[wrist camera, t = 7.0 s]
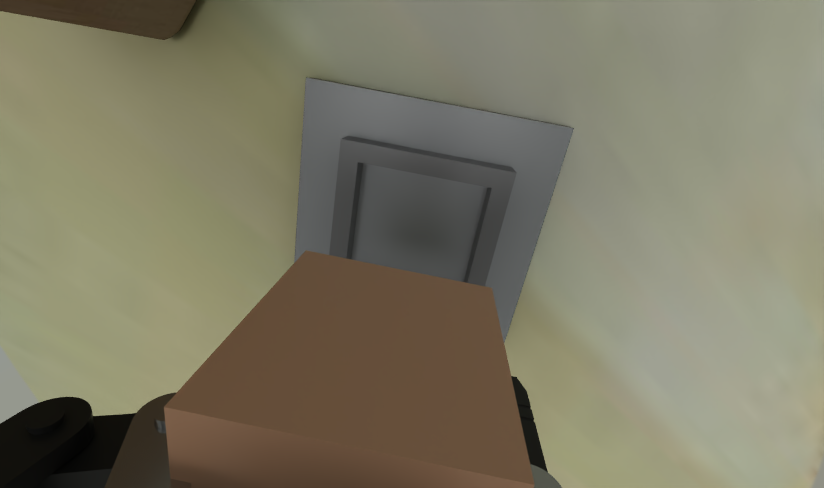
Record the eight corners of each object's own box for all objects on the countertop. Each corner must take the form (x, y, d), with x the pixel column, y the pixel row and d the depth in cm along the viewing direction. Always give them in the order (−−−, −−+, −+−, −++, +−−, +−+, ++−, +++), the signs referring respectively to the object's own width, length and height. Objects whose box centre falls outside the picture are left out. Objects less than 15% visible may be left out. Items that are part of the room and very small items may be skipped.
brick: (305, 250, 11) (163, 406, 6) (492, 288, 11) (534, 485, 6) (294, 394, 13) (182, 612, 8) (451, 427, 13) (452, 672, 8)
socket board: (312, 78, 21) (295, 76, 18) (568, 126, 21) (583, 131, 18) (297, 299, 26) (282, 319, 24) (500, 340, 26) (505, 364, 24)
